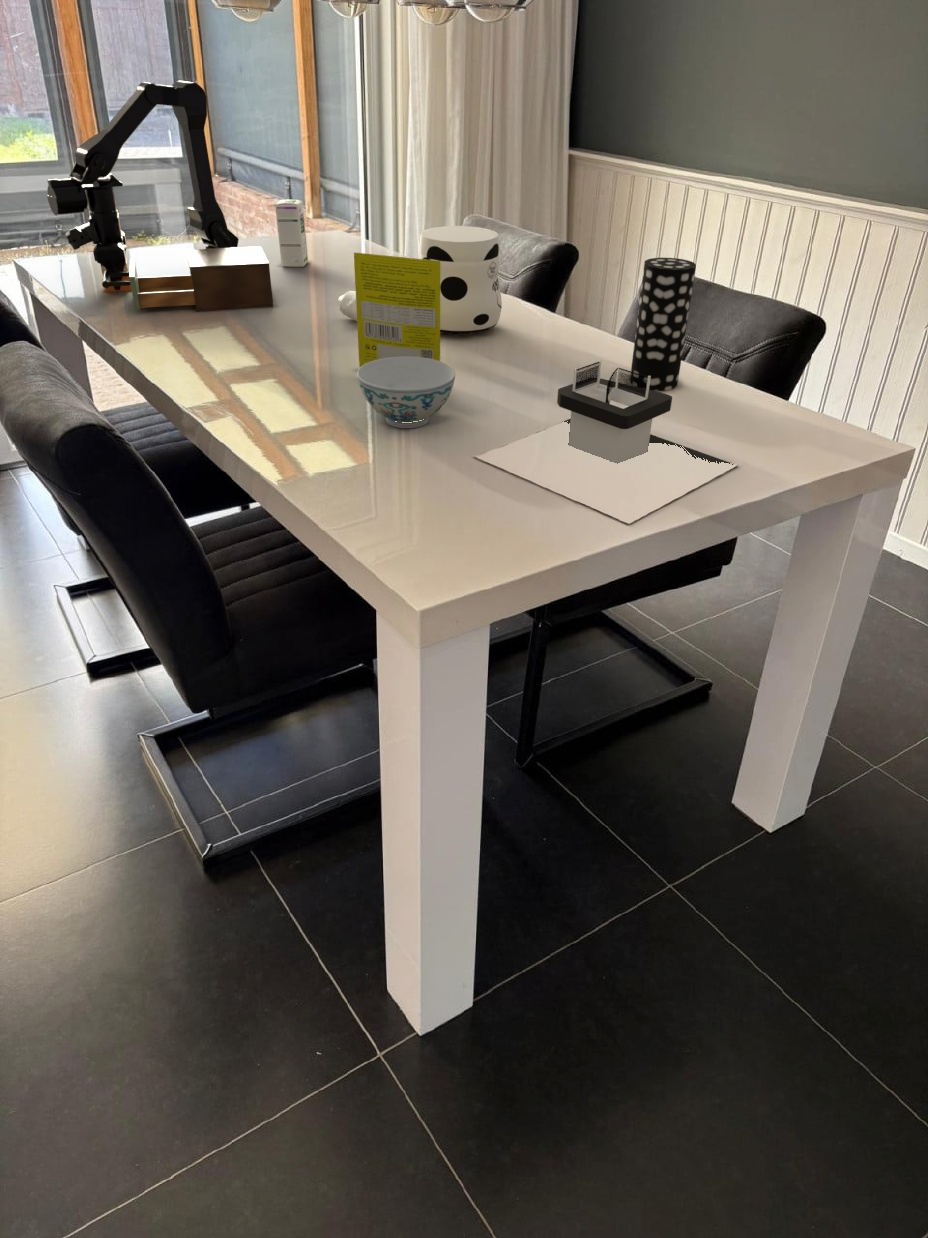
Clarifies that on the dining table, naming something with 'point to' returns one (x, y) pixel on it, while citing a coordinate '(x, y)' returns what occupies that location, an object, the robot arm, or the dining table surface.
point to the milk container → (465, 276)
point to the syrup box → (291, 233)
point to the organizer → (230, 278)
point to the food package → (397, 307)
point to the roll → (348, 305)
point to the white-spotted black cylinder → (662, 321)
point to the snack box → (124, 278)
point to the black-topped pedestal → (615, 415)
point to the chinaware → (406, 388)
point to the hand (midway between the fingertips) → (117, 285)
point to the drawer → (154, 288)
